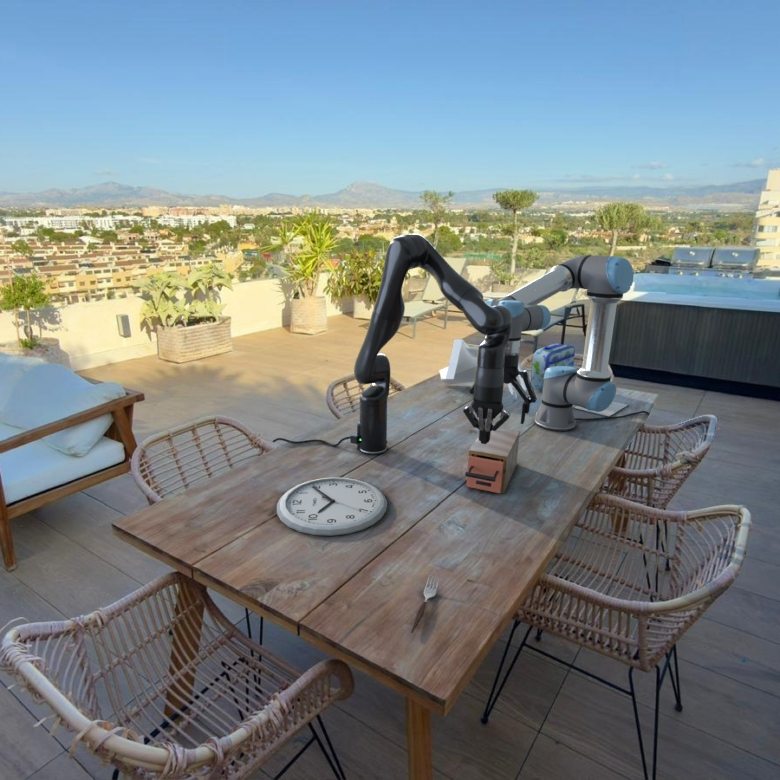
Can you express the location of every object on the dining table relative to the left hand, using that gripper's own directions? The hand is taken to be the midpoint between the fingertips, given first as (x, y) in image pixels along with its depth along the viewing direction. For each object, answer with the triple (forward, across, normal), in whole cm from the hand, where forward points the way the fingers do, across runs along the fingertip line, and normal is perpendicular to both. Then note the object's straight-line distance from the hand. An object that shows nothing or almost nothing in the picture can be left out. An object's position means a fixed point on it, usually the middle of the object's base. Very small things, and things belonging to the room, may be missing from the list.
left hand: (484, 442), depth 143 cm
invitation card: (+17, +29, +101) cm, 106 cm away
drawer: (+16, 0, +10) cm, 19 cm away
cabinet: (+17, 0, +16) cm, 24 cm away
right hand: (+1, 0, +22) cm, 23 cm away
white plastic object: (+17, -24, +98) cm, 102 cm away
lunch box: (+17, +6, +120) cm, 122 cm away
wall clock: (+17, -36, -21) cm, 45 cm away
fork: (+17, 0, -49) cm, 52 cm away
